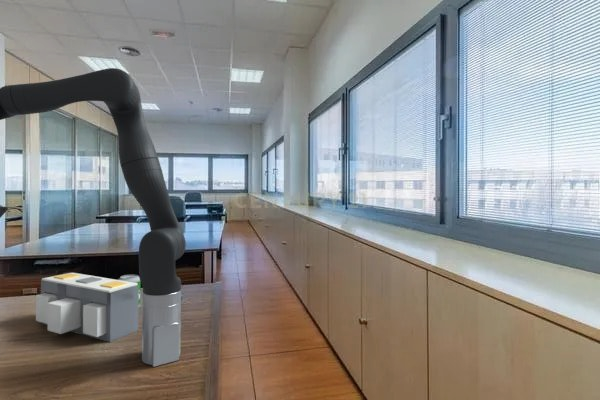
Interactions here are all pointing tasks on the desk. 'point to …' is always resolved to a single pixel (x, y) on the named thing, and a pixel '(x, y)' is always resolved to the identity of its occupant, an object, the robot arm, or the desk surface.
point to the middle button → (64, 315)
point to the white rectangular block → (44, 306)
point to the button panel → (99, 300)
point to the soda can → (132, 279)
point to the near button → (94, 319)
